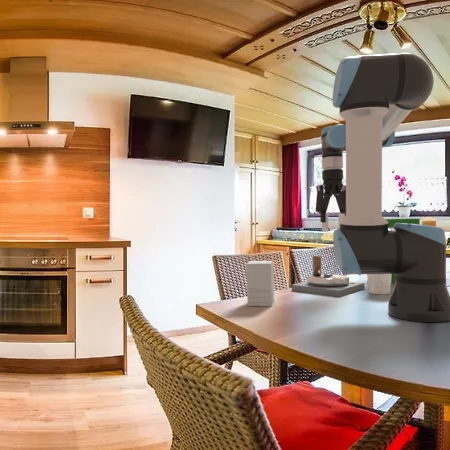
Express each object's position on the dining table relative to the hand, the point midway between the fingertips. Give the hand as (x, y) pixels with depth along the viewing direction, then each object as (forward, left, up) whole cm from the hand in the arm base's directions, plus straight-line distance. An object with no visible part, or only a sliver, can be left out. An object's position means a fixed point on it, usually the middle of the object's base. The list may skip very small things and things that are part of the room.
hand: (333, 231), depth 145 cm
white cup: (-5, -19, -20) cm, 28 cm away
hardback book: (+19, -14, -20) cm, 31 cm away
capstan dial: (-10, -3, -18) cm, 20 cm away
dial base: (-10, -3, -20) cm, 22 cm away
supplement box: (-42, +1, -20) cm, 46 cm away
